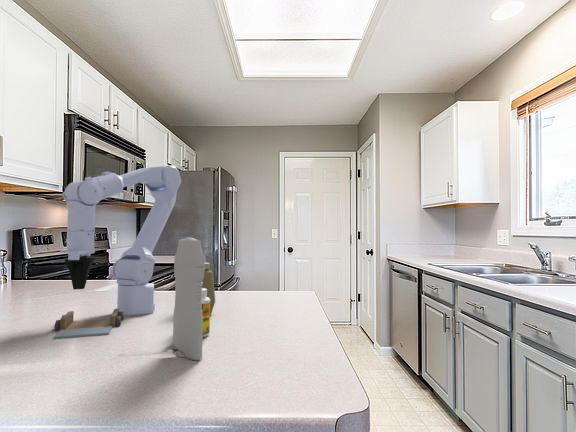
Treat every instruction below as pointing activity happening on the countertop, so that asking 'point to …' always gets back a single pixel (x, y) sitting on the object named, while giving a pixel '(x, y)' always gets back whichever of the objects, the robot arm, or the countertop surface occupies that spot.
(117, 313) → the cart bed
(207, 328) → the supplement bottle
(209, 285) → the squeeze bottle
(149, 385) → the countertop surface
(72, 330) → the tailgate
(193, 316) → the tall pale column
